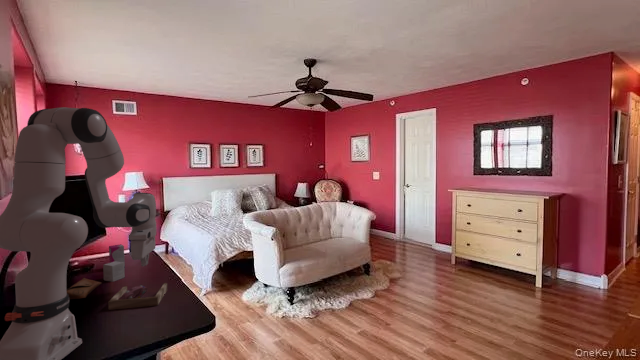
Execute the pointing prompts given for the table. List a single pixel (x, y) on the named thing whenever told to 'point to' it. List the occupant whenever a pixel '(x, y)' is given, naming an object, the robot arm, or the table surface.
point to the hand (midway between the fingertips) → (144, 265)
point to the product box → (113, 271)
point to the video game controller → (134, 292)
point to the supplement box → (116, 253)
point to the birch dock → (136, 299)
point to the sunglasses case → (82, 288)
